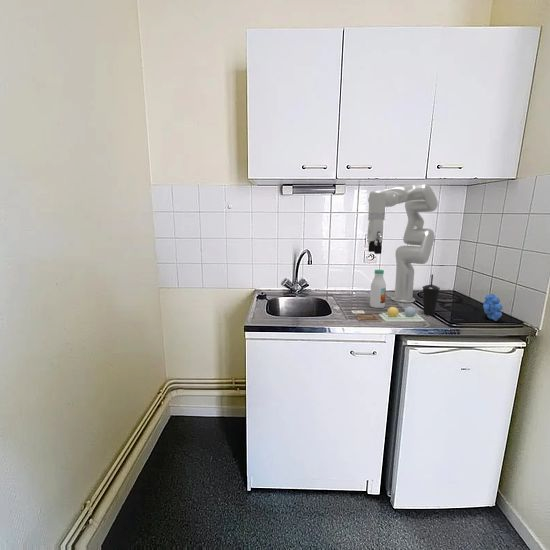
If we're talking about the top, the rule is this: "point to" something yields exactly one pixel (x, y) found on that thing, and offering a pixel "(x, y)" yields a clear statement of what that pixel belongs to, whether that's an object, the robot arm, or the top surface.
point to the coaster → (367, 317)
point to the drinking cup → (430, 298)
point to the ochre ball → (393, 312)
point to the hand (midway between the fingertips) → (374, 252)
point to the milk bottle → (378, 290)
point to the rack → (401, 318)
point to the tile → (358, 312)
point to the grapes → (492, 307)
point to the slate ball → (410, 312)
